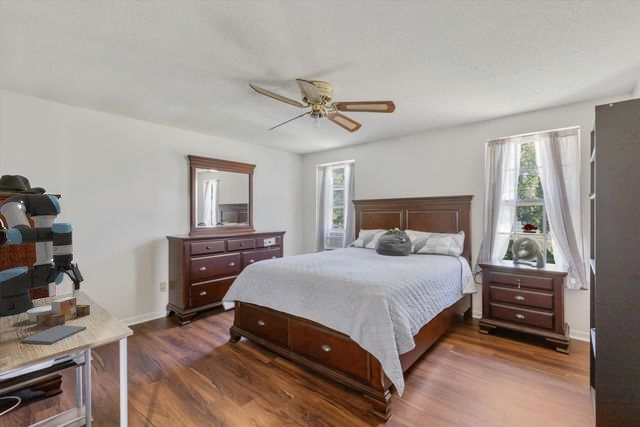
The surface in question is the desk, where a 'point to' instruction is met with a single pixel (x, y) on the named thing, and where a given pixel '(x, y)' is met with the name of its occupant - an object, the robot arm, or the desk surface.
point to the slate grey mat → (53, 334)
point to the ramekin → (38, 312)
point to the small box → (65, 307)
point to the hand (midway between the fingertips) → (64, 296)
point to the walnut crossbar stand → (60, 317)
